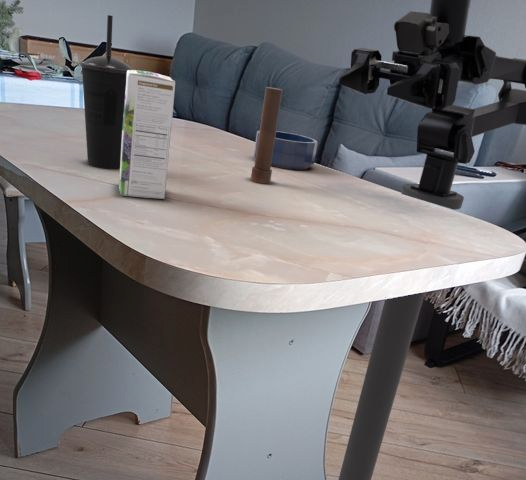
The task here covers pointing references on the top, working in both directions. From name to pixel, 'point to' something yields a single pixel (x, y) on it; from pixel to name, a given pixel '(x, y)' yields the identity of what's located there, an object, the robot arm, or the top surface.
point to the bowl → (292, 151)
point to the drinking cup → (104, 105)
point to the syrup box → (146, 134)
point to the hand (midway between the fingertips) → (363, 85)
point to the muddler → (267, 136)
